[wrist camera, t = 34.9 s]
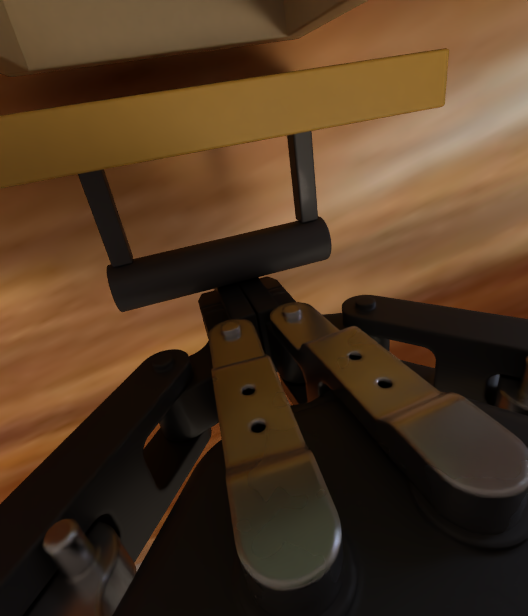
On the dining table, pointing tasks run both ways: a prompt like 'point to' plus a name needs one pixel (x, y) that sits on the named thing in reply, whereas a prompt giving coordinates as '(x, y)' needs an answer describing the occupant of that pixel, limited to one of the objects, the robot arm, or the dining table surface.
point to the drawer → (193, 119)
